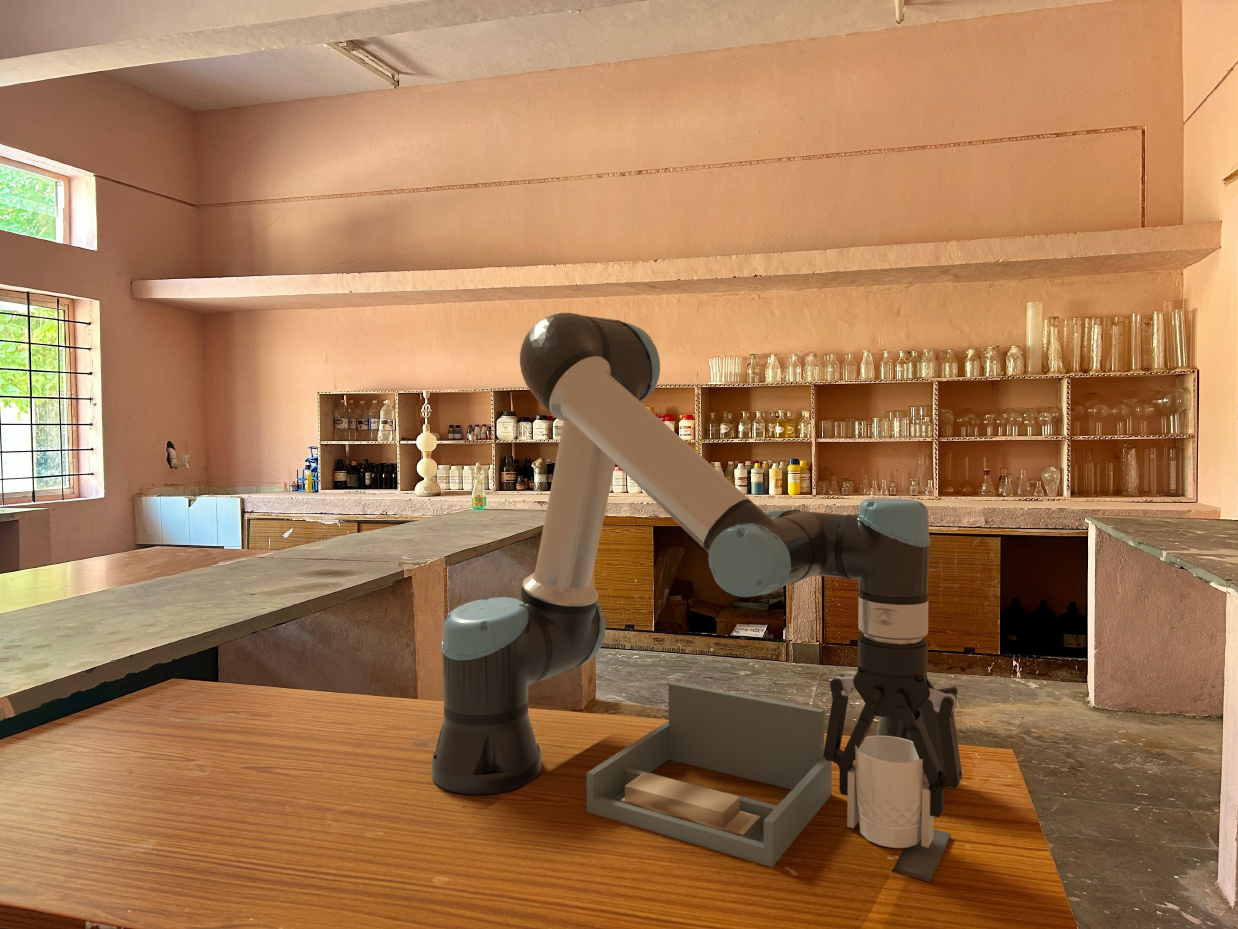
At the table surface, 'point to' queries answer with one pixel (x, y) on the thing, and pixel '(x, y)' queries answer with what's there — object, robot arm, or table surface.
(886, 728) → the pump dispenser
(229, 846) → the table surface
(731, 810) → the upper offcut
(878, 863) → the table surface
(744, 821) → the block
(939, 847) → the mat
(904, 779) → the white cup
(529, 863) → the table surface
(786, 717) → the rack
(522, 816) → the table surface
